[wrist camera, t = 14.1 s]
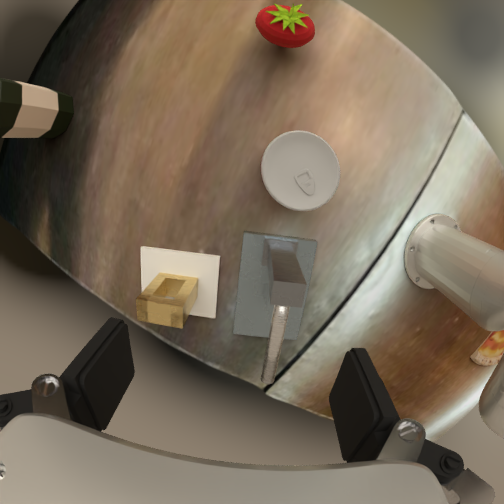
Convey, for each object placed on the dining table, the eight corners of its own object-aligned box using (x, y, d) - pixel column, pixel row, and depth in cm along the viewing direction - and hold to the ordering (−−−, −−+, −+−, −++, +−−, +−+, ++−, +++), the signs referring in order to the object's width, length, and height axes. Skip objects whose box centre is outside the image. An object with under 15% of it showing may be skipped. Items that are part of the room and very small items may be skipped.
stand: (315, 239, 38) (345, 280, 24) (295, 335, 43) (307, 400, 29) (244, 230, 38) (235, 267, 24) (233, 329, 42) (223, 394, 29)
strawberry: (265, 20, 28) (267, -18, 19) (314, 38, 29) (329, 4, 19) (248, 48, 30) (245, 13, 20) (299, 67, 31) (311, 37, 21)
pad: (220, 255, 39) (219, 257, 38) (215, 316, 42) (215, 318, 41) (142, 246, 39) (140, 247, 38) (144, 304, 42) (142, 306, 41)
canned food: (288, 210, 37) (300, 228, 26) (247, 167, 35) (242, 166, 25) (329, 173, 35) (357, 176, 25) (289, 129, 33) (302, 114, 23)
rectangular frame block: (198, 277, 39) (182, 307, 31) (197, 296, 40) (182, 328, 32) (159, 272, 39) (136, 299, 31) (159, 290, 40) (137, 320, 32)
